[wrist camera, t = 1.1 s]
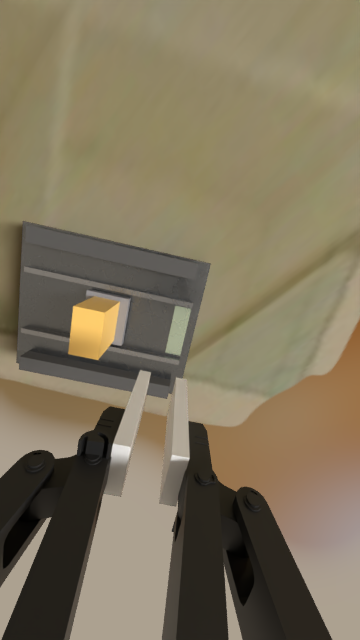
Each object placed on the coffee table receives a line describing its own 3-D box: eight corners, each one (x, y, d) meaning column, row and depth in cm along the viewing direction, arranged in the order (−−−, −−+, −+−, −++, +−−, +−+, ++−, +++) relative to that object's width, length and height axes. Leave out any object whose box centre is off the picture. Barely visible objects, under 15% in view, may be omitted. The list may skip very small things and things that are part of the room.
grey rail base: (42, 225, 31) (16, 219, 26) (207, 262, 32) (211, 264, 27) (34, 351, 36) (11, 366, 31) (178, 380, 37) (177, 399, 32)
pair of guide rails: (35, 226, 27) (25, 224, 26) (197, 263, 28) (198, 264, 26) (27, 363, 32) (19, 369, 30) (167, 391, 33) (167, 398, 31)
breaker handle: (90, 288, 29) (63, 298, 22) (130, 297, 29) (116, 309, 23) (84, 335, 30) (57, 356, 24) (123, 343, 31) (107, 366, 24)
